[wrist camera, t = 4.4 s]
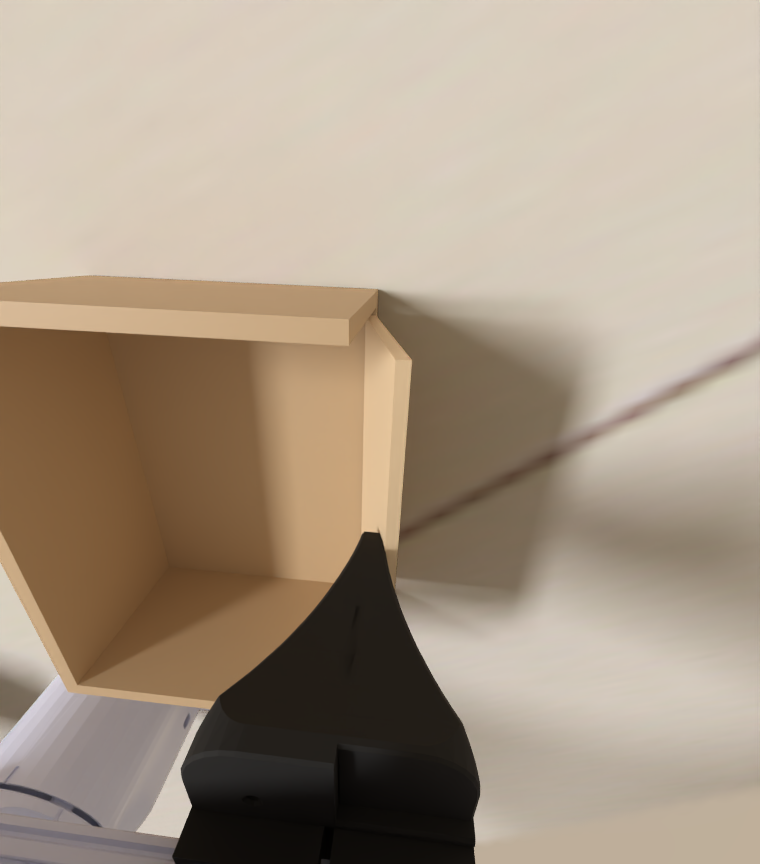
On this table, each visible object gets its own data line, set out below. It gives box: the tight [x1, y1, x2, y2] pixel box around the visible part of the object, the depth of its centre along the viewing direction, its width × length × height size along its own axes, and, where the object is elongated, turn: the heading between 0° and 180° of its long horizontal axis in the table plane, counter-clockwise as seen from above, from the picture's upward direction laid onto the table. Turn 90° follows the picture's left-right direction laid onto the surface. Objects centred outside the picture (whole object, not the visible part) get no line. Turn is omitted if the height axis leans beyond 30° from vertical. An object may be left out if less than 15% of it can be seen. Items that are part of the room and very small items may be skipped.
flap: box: [361, 315, 412, 590], centre depth 15 cm, size 14×1×6 cm, turn 178°
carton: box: [0, 276, 378, 709], centre depth 16 cm, size 16×12×7 cm
